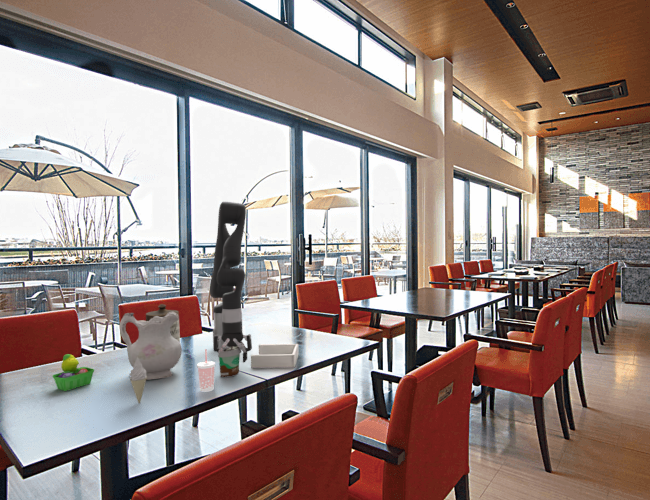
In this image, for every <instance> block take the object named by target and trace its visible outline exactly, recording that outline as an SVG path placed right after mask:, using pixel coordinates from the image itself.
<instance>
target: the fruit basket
mask: <svg viewBox="0 0 650 500" xmlns="http://www.w3.org/2000/svg"><path fill="white" fill-rule="evenodd" d="M78 365H80V363H79V360H78V358H76V357H75V356H74V355H72V354H69V353H67V354H64V355H63V357H62V362H61V370H62V372H59V373H55V374H52V378H53V380H54V382H55V385H56V388H57V390H61V391H64V392H67V390H68V391H70V390H74V389H77V388H81V387H84V386H87V385H90V384H92V379H93V375H94V372H95V369H94V368H91V367H88V366H81V367H78ZM80 386H81V387H80ZM76 387H77V388H76ZM73 388H74V389H73Z"/></svg>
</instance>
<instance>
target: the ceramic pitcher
mask: <svg viewBox="0 0 650 500" xmlns="http://www.w3.org/2000/svg"><path fill="white" fill-rule="evenodd" d="M134 315H135V313H134V312H127V313H124V314H123V316H122V318H121V320H120V323H119V335H120V336H121V337H122V340H123V342H124V344H126V351H127V357H128V358H127V359H128V362H129V364H130V366H131V368H133V366H134V364H135V361H136V359H137V357H138V359H139V361H140V363H141V364H142V367H143V368H144V369H145V370H146V376H147V378H146V381H148V380H157V379H166V378H170V377H172V376H173V375H174V374H173V373H172V371H171V369H173V368H174V367H176V365H177V364H178V362H179V361H180V359H181V356H182V351H183V349H182V344H181V341H180V342H179V341H178V340H176V339H175V338H174V337H172V335H171V333H170V328H171V326H172V324H173V323H174V322H176V321H178V320H179V321H180V315H179V316H178V314H176V313H175V312H169V313H168V314H167V315H166V316H164V317H159V316H155V317H153V318H152V319H150V320H149V321H146V320H144V319H143V320H137V319H136V318H135V316H134ZM128 323H132V324H133V325H135V327H136V328H137V331H138V338H137V339H136V341H135V342H133V343H132V342H131V339H130V336H129V334H128V333H127V331H126V330H127V329H126V326H127V324H128Z"/></svg>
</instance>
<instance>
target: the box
mask: <svg viewBox="0 0 650 500" xmlns="http://www.w3.org/2000/svg"><path fill="white" fill-rule="evenodd" d="M299 353H300V352H299V344H298V343H287V344H286V343H274V344H272V343H271V344H270V343H269V344H268V343H267V344H266V343H265V344H261V343H259V344H258V354H251V355H250V368H251V369H268V368H269V369H270V368H271V369H272V368H273V369H274V368H275V369H277V368H280V369H281V368H283V369H284V368H285V369H286V368H296V367H295V366H296V364H297V362H298V358H299V356H300V355H299Z"/></svg>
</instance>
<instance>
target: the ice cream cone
mask: <svg viewBox="0 0 650 500" xmlns="http://www.w3.org/2000/svg"><path fill="white" fill-rule="evenodd" d="M129 376H130V377H129V381H130V382H131V386H132V389H133V391H134V395H135V397H136V401H137V403H138V404H141V402H142V397H143V394H144V391H145V390H144V389H145V387H146V386H145V385H146V382H147V380H146V378H147V376H146V370H145V369H144V368H143V367H142V364H141V363H140V361H139V359H138V357H137V359H136V361H135V364H134V366H133V367H132V369H131V370H130V373H129Z"/></svg>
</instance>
